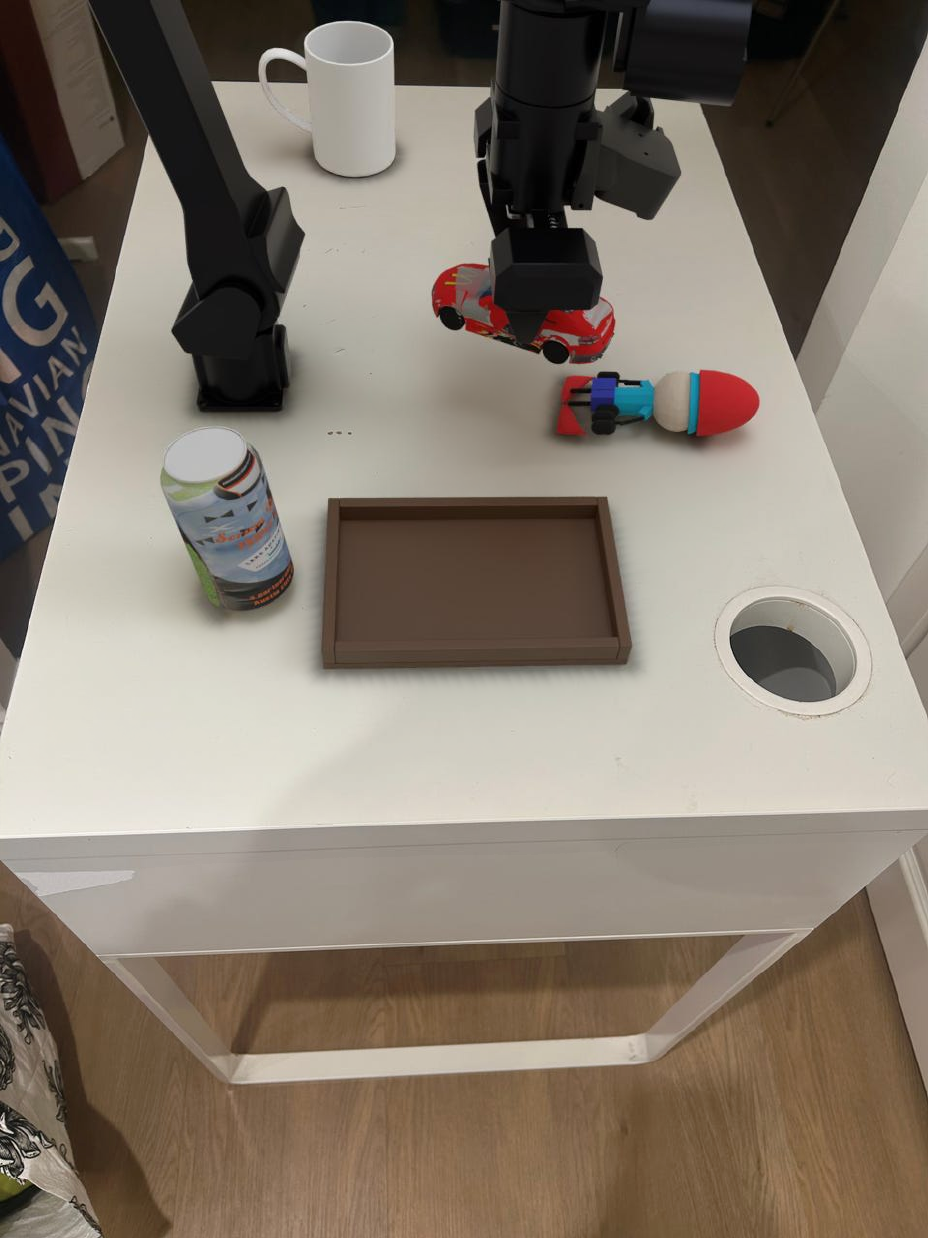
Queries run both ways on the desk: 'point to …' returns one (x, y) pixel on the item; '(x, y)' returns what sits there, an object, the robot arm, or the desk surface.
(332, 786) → the desk surface
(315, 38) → the mug
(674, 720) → the desk surface
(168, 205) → the desk surface
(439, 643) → the tray
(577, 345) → the race car
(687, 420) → the toy figure
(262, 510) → the beverage can
